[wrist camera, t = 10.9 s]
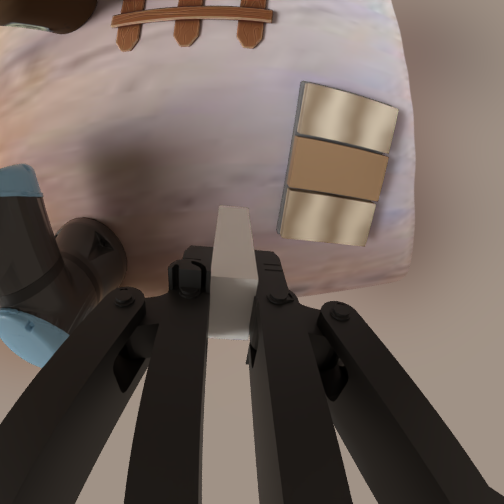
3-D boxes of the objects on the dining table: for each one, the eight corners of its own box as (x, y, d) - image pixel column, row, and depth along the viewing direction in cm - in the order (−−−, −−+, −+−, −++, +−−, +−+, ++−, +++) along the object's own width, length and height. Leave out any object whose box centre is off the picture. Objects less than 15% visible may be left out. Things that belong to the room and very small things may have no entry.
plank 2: (279, 232, 42) (282, 238, 40) (287, 187, 39) (290, 190, 38) (359, 241, 44) (364, 246, 42) (370, 200, 41) (376, 204, 39)
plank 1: (297, 131, 35) (300, 133, 34) (305, 83, 32) (308, 83, 30) (382, 150, 37) (388, 153, 35) (391, 108, 33) (398, 109, 32)
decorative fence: (125, -23, 22) (111, 54, 29) (122, -27, 21) (106, 53, 28) (276, -28, 24) (267, 51, 32) (277, -33, 23) (269, 48, 30)
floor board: (276, 229, 44) (279, 239, 41) (300, 81, 33) (306, 79, 30) (355, 238, 46) (363, 248, 43) (386, 105, 35) (398, 106, 32)
